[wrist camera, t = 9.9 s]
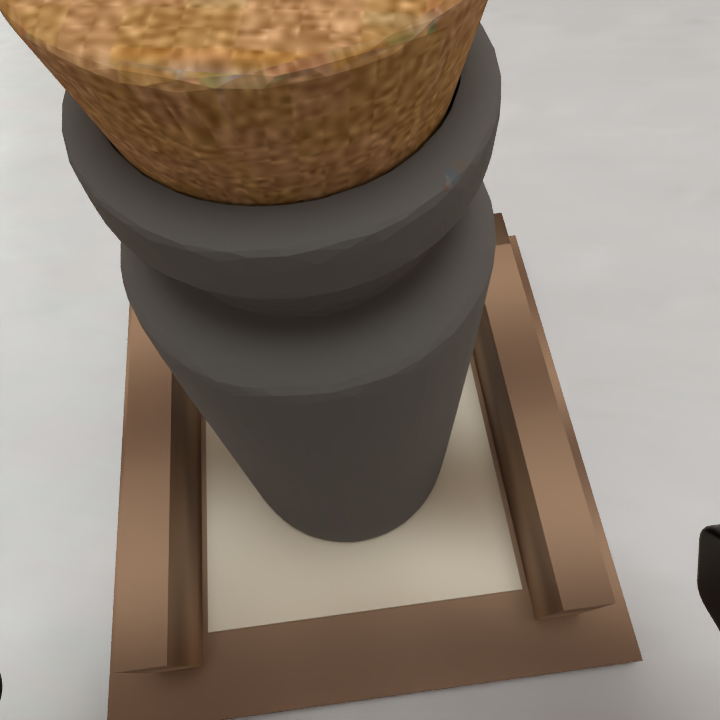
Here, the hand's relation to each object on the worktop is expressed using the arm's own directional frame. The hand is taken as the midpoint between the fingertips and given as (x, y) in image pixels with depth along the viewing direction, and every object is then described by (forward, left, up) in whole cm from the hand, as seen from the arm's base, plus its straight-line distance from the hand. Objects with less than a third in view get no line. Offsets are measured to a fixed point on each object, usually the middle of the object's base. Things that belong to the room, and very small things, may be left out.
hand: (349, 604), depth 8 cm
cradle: (+4, +4, -11) cm, 12 cm away
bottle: (+4, +4, -10) cm, 11 cm away
